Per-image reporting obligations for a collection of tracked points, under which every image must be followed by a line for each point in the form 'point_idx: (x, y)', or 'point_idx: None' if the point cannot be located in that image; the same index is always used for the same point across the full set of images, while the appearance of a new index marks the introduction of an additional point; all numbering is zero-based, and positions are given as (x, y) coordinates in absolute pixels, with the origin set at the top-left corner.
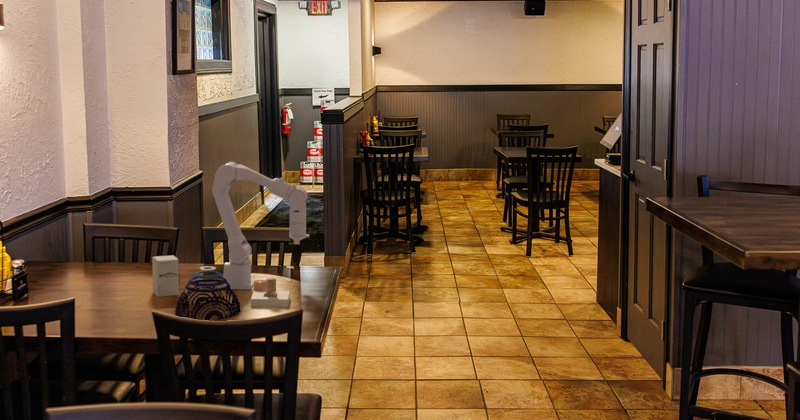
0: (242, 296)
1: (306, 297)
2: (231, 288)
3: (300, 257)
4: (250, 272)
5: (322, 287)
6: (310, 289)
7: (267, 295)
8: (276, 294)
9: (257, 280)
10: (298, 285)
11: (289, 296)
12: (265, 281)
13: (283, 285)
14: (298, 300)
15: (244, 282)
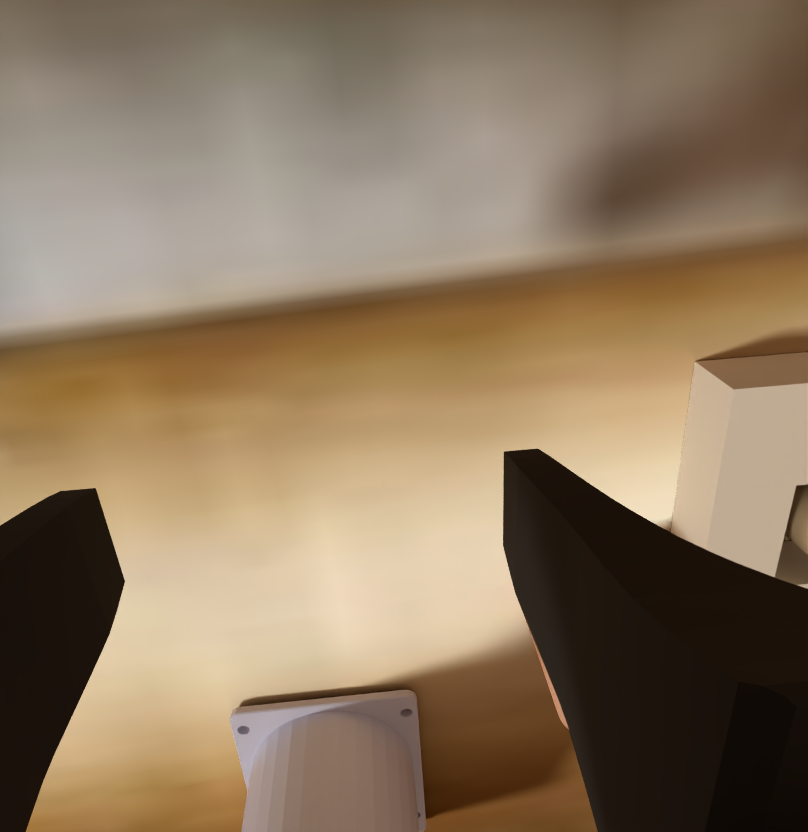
0: None
1: (661, 193)
2: (423, 794)
3: (599, 498)
4: (333, 825)
5: (185, 25)
6: (314, 183)
7: None
8: (788, 489)
9: None
10: (165, 342)
11: (706, 369)
12: None
13: (204, 483)
14: (768, 266)
15: (403, 773)
